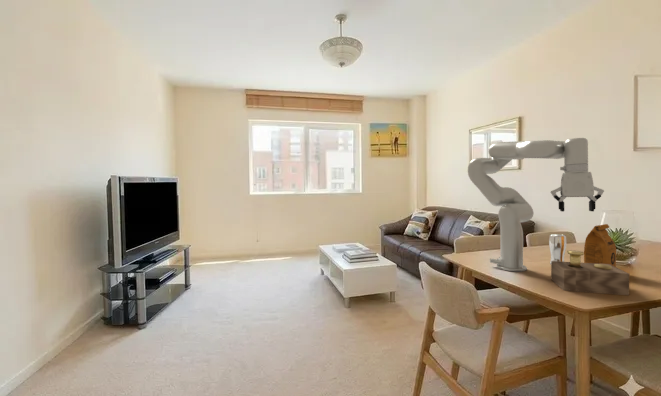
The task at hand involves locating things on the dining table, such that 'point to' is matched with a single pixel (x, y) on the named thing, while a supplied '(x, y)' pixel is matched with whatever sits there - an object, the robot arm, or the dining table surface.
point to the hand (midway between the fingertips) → (576, 211)
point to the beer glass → (557, 247)
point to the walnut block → (590, 278)
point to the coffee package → (600, 247)
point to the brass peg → (575, 258)
